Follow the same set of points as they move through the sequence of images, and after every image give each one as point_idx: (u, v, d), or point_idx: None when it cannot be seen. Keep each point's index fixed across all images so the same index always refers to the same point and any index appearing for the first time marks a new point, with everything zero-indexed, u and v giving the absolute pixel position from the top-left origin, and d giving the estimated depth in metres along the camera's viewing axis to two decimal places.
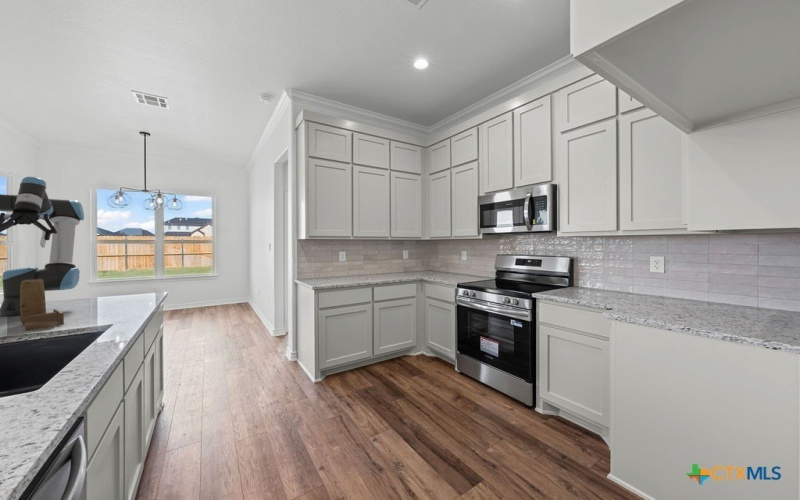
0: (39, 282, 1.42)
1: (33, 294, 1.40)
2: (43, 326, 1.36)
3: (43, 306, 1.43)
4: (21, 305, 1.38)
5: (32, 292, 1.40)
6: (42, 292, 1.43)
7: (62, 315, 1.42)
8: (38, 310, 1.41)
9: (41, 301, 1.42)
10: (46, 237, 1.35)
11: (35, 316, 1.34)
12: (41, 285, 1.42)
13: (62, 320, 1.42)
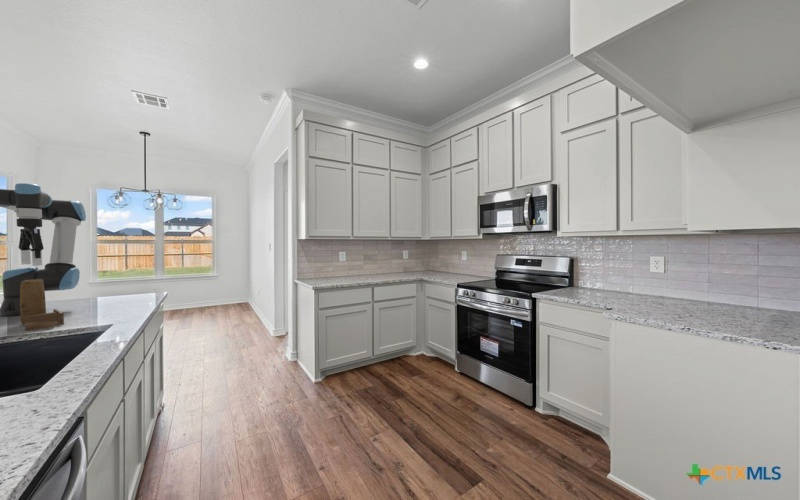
0: (39, 282, 1.42)
1: (33, 294, 1.40)
2: (43, 326, 1.36)
3: (43, 306, 1.43)
4: (21, 305, 1.38)
5: (32, 292, 1.40)
6: (42, 292, 1.43)
7: (62, 315, 1.42)
8: (38, 310, 1.41)
9: (41, 301, 1.42)
10: (35, 257, 1.39)
11: (35, 316, 1.34)
12: (41, 285, 1.42)
13: (62, 320, 1.42)
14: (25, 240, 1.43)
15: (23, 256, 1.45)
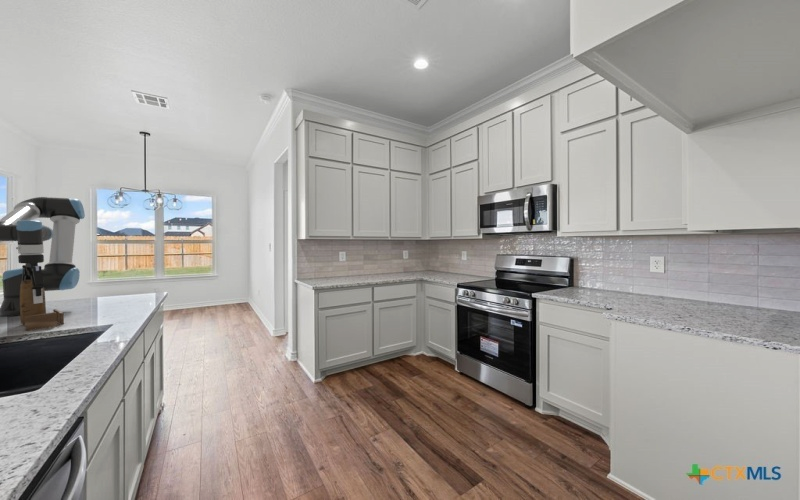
0: None
1: None
2: (43, 326, 1.36)
3: (43, 306, 1.43)
4: (21, 305, 1.38)
5: (32, 292, 1.40)
6: (42, 292, 1.43)
7: (62, 315, 1.42)
8: (38, 310, 1.41)
9: None
10: (36, 295, 1.40)
11: (35, 316, 1.34)
12: None
13: (62, 320, 1.42)
14: (27, 276, 1.44)
15: None
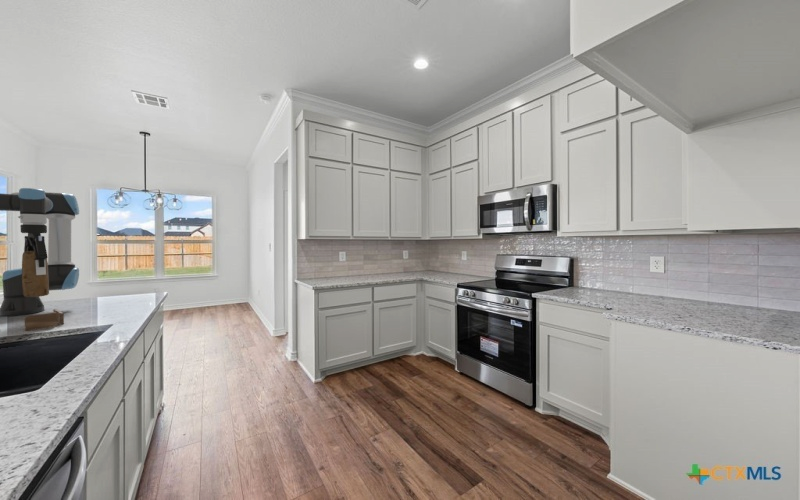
0: None
1: None
2: (43, 326, 1.36)
3: (46, 278, 1.37)
4: (23, 276, 1.33)
5: (35, 263, 1.35)
6: None
7: (62, 315, 1.42)
8: (41, 281, 1.36)
9: None
10: (39, 266, 1.34)
11: (35, 316, 1.34)
12: None
13: (62, 320, 1.42)
14: (30, 247, 1.39)
15: None
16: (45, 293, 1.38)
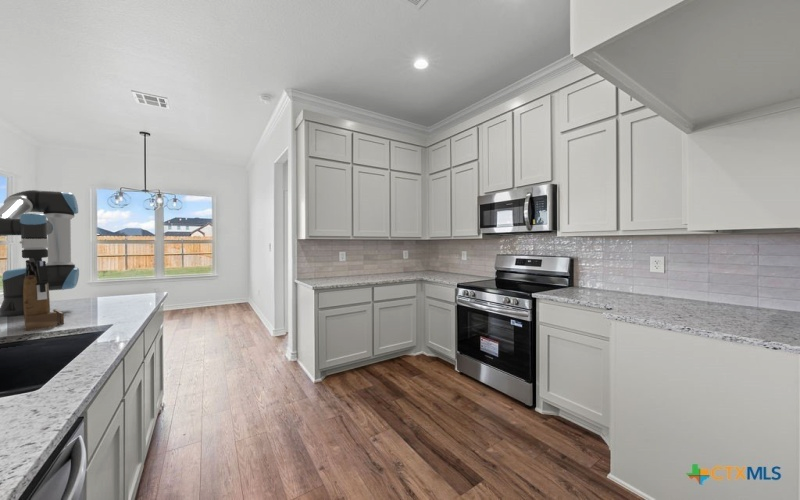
0: None
1: None
2: (43, 326, 1.36)
3: (47, 302, 1.38)
4: (24, 301, 1.33)
5: (36, 288, 1.35)
6: None
7: (62, 315, 1.42)
8: (42, 306, 1.37)
9: None
10: (40, 291, 1.35)
11: (35, 316, 1.34)
12: None
13: (62, 320, 1.42)
14: (31, 271, 1.39)
15: None
16: None
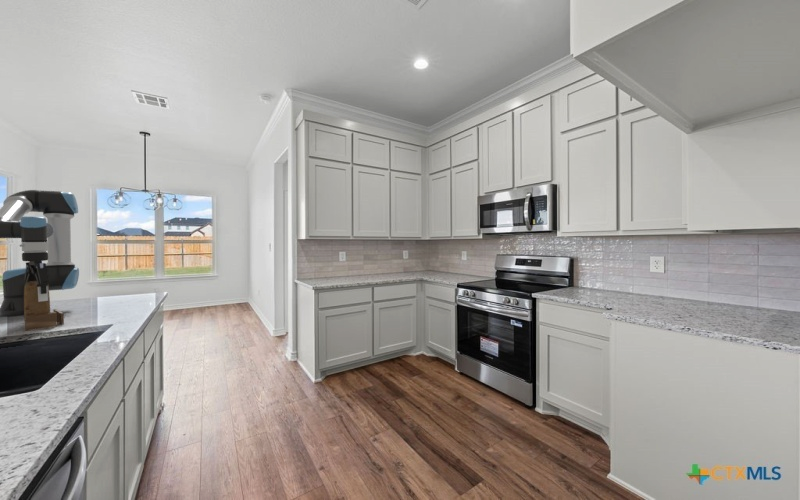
0: None
1: None
2: (43, 326, 1.36)
3: (48, 308, 1.38)
4: (25, 307, 1.34)
5: (36, 294, 1.36)
6: None
7: (62, 315, 1.42)
8: (43, 312, 1.37)
9: (46, 303, 1.38)
10: (41, 292, 1.35)
11: (35, 316, 1.34)
12: None
13: (62, 320, 1.42)
14: (31, 274, 1.39)
15: None
16: None
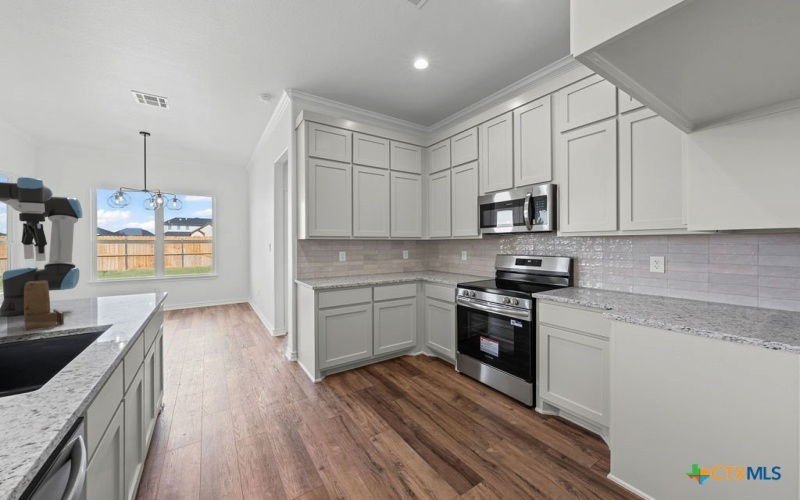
0: (44, 284, 1.37)
1: (38, 296, 1.36)
2: (43, 326, 1.36)
3: (48, 308, 1.38)
4: (25, 307, 1.34)
5: (36, 294, 1.35)
6: (47, 294, 1.38)
7: (62, 315, 1.42)
8: (43, 312, 1.37)
9: (46, 303, 1.37)
10: (39, 252, 1.38)
11: (35, 316, 1.34)
12: (46, 287, 1.38)
13: (62, 320, 1.42)
14: (28, 235, 1.42)
15: (26, 250, 1.44)
16: None
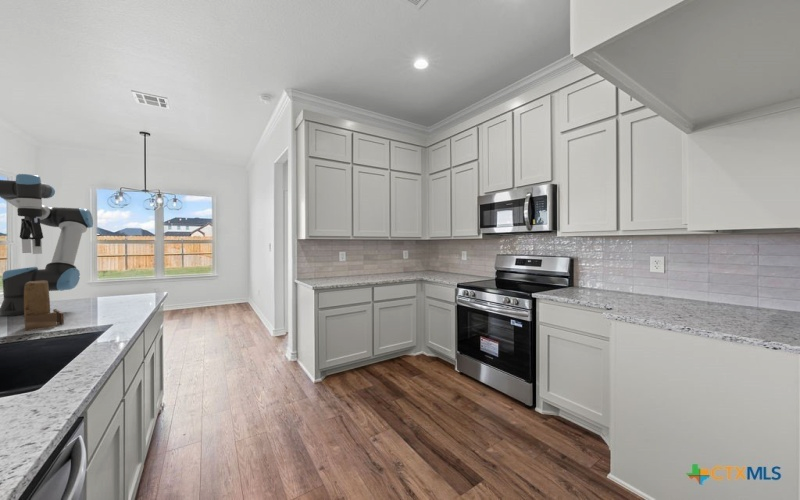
0: (44, 284, 1.37)
1: (38, 296, 1.36)
2: (43, 326, 1.36)
3: (48, 308, 1.38)
4: (25, 307, 1.34)
5: (36, 294, 1.35)
6: (47, 294, 1.38)
7: (62, 315, 1.42)
8: (43, 312, 1.37)
9: (46, 303, 1.37)
10: (35, 245, 1.43)
11: (35, 316, 1.34)
12: (46, 287, 1.38)
13: (62, 320, 1.42)
14: (26, 229, 1.48)
15: (24, 245, 1.50)
16: None
